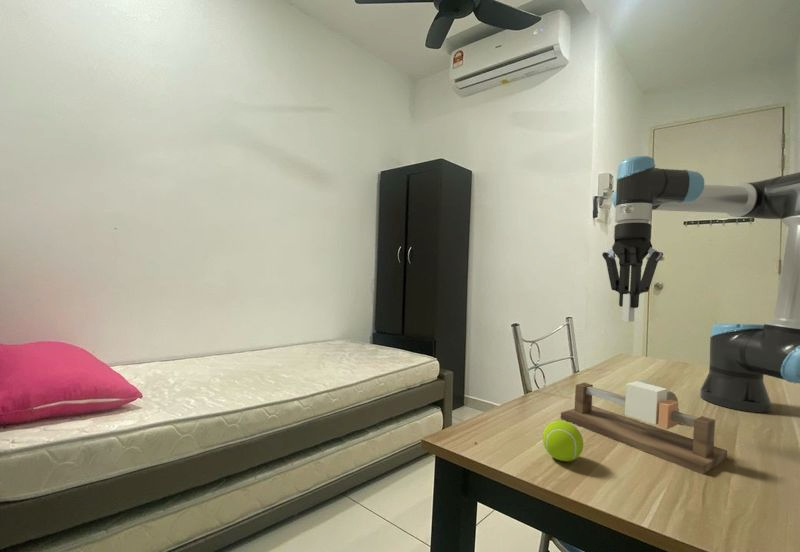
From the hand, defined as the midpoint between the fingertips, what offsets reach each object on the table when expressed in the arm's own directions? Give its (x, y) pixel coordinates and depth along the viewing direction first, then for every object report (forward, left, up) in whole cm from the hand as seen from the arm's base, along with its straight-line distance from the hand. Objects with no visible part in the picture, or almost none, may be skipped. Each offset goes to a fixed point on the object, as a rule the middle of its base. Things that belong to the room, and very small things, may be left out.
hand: (627, 320), depth 90 cm
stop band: (+7, +12, -20) cm, 24 cm away
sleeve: (+7, +8, -20) cm, 22 cm away
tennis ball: (+31, +4, -25) cm, 40 cm away
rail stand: (+7, +6, -24) cm, 26 cm away
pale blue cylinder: (-14, +1, -25) cm, 28 cm away
